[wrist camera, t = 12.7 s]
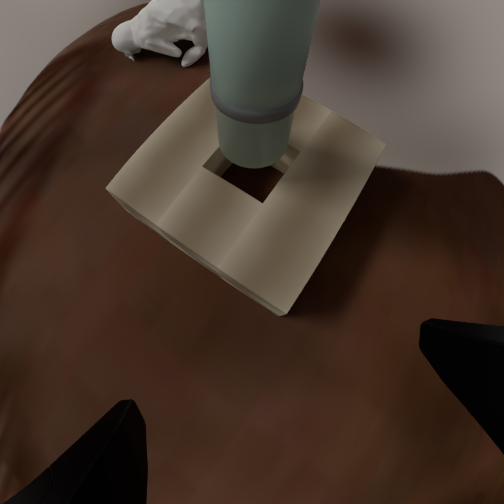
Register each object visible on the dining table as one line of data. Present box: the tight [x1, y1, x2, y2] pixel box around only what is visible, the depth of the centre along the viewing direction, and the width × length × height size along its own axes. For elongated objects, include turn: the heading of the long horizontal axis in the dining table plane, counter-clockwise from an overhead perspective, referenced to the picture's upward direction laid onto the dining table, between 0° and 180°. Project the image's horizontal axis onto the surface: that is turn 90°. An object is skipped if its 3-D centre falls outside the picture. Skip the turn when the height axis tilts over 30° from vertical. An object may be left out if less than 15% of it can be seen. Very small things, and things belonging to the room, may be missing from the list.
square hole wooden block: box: [106, 78, 386, 316], centre depth 21 cm, size 14×14×4 cm
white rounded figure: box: [112, 0, 208, 67], centre depth 23 cm, size 6×8×12 cm
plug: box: [203, 0, 320, 168], centre depth 10 cm, size 4×4×14 cm
